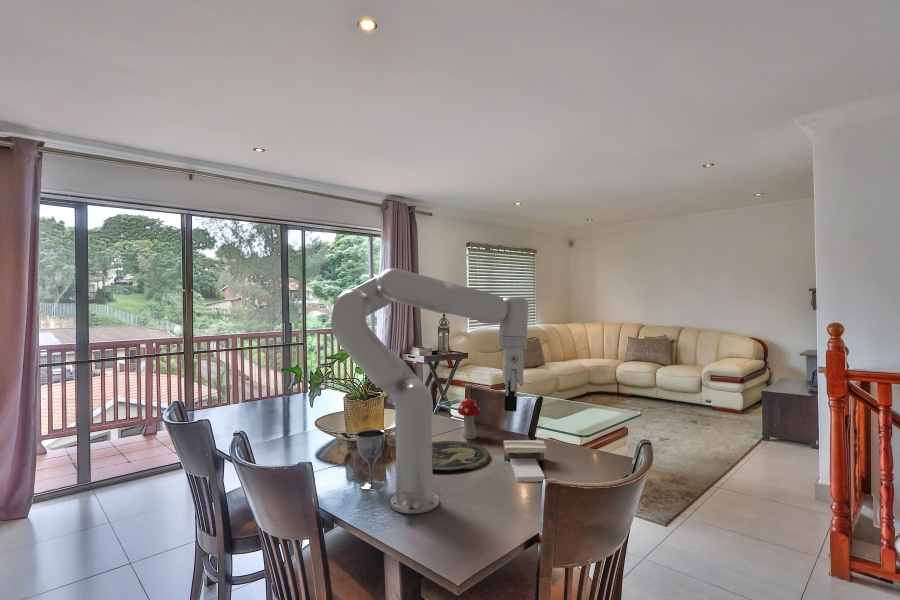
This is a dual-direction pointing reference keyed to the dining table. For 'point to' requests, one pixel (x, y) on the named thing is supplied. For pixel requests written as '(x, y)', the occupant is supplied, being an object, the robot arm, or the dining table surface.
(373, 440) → the wine glass
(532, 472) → the tile
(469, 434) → the decorative mushroom
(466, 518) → the dining table surface
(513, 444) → the low shelf
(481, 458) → the decorative plate
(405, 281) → the robot arm
